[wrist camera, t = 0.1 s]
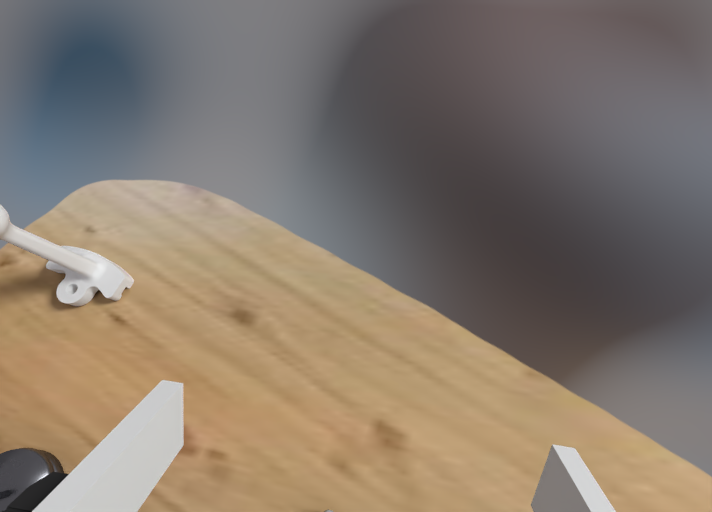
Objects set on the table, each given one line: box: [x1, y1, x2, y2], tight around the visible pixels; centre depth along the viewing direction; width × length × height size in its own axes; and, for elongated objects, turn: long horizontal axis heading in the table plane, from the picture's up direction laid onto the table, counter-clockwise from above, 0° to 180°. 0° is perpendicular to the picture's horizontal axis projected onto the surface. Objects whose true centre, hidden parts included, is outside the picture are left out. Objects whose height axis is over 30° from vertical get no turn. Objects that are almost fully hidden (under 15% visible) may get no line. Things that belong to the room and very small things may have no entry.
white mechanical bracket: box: [0, 205, 134, 306], centre depth 42 cm, size 11×8×20 cm
